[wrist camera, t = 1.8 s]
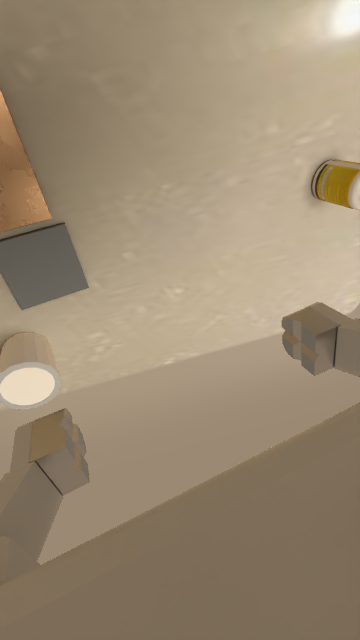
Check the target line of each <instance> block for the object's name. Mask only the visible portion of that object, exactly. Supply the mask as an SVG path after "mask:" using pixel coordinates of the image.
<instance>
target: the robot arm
mask: <svg viewBox="0 0 360 640" xmlns="http://www.w3.org/2000/svg"><path fill="white" fill-rule="evenodd" d="M282 327H283V328H284V329H285V332H284V334H283V336H282V341H283V345H284V348H285V350H286V351H287V353H288V354H289V355H290V356H291V357H292V358H293V359H298V360H301V364H302V366H303V367H304V368H305V369H307V370H308V371H309V372H310V373H311V374H313V375H314V376H316V375H318V374H320V373H322V372H325V371H327V370H329V369H332V368H335V369H338V370H341V371H344V372H347V373H349V374H353V375H355V376H359V377H360V319H355V320H353V319H351V318H348V317H347V316H345V315H343V314H341V313H340V312H338V311H336V310H334V309H332V308H330V307H328V306H327V305H325V304H323V303H320V302H317V303H314V304H312V305H310V306H308V307H306V308H304V309H301V310H299V311H297V312H294V313H292V314H290V315H287V316H285V317H283V319H282ZM85 454H86V446H85V442H84V439H83V435H82V433H81V431H80V429H79V427H78V425H76V424H73V423H72V416H71V414H70V412H69V411H68V409H62V410H59V411H57V412H54V413H52V414H49V415H47V416H44V417H42V418H39V419H37V420H34V421H32V422H30V423H27V424H25V425H22V426H20V427H18V428H17V429H16V431H15V437H14V445H13V452H12V460H11V467H10V472H9V473H7V474H5V475H4V476H3V478H2V479H1V480H0V640H360V403H358V404H356V405H354V406H352V407H350V408H348V409H346V410H344V411H342V412H340V413H338V414H336V415H334V416H333V417H330V418H328V419H326V420H324V421H322V422H320V423H319V424H317V425H315V426H313V427H311V428H309V429H307V430H305V431H303V432H301V433H299V434H297V435H295V436H293V437H291V438H289V439H287V440H285V441H283V442H281V443H279V444H277V445H275V446H274V447H272V448H270V449H268V450H266V451H264V452H262V453H260V454H258V455H256V456H254V457H252V458H250V459H248V460H246V461H244V462H242V463H240V464H238V465H236V466H234V467H232V468H230V469H228V470H226V471H224V472H222V473H221V474H219V475H217V476H215V477H213V478H211V479H209V480H207V481H205V482H203V483H201V484H199V485H197V486H195V487H193V488H191V489H189V490H187V491H185V492H183V493H181V494H179V495H177V496H175V497H174V498H172V499H169V500H168V501H166V502H164V503H162V504H160V505H158V506H156V507H154V508H152V509H150V510H148V511H146V512H144V513H142V514H140V515H138V516H136V517H134V518H132V519H130V520H128V521H126V522H124V523H122V524H120V525H119V526H117V527H115V528H113V529H111V530H109V531H107V532H105V533H103V534H101V535H99V536H97V537H95V538H93V539H91V540H89V541H87V542H85V543H83V544H81V545H79V546H77V547H75V548H74V549H71V550H70V551H68V552H66V553H64V554H62V555H60V556H58V557H56V558H54V559H52V560H50V561H48V562H46V563H44V564H42V565H40V564H39V563H38V562H37V560H38V558H39V555H40V553H41V551H42V548H43V546H44V543H45V541H46V538H47V535H48V533H49V531H50V529H51V526H52V523H53V521H54V519H55V516H56V514H57V511H58V509H59V506H60V504H61V502H62V499H63V495H65V494H67V493H69V492H71V491H73V490H75V489H77V488H79V487H81V486H83V485H85V484H87V483H89V471H88V464H87V462H86V460H85V459H84V455H85Z"/></svg>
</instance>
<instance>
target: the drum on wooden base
mask: <svg viewBox="0 0 360 640" xmlns="http://www.w3.org/2000/svg"><path fill="white" fill-rule="evenodd" d="M48 219H52V217H51V214H50V212H49V209H48V207H47V205H46V202H45V200H44V197H43V195H42V192H41V190H40V187H39V185H38V182H37V180H36V177H35V175H34V172H33V170H32V167H31V165H30V162H29V160H28V157H27V155H26V152H25V150H24V147H23V145H22V142H21V140H20V137H19V135H18V132H17V130H16V127H15V125H14V122H13V120H12V117H11V115H10V112H9V110H8V107H7V105H6V102H5V100H4V97H3V95H2V92H1V90H0V232H3V231H7V230H11V229H14V228H18V227H22V226H26V225H29V224H33V223H37V222H40V221H44V220H48Z"/></svg>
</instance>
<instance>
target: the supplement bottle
mask: <svg viewBox="0 0 360 640" xmlns="http://www.w3.org/2000/svg"><path fill="white" fill-rule="evenodd" d="M312 189H313V193H314V195H315V197H316V198H318V199H320V200H323V201H327V202H330V203H334V204H338V205H341V206H345V207H349V208H352V209H357V210H360V163H355V162H348V161H341V160H329V161H327V162H325V163H324V164H323V165H322V166H321V167H320V168H319V169H318V171H317V172H316V174H315V176H314V179H313V184H312Z"/></svg>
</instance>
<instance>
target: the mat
mask: <svg viewBox="0 0 360 640" xmlns="http://www.w3.org/2000/svg"><path fill="white" fill-rule="evenodd" d="M0 272H1V274H2V276H3V277H4V279H5V281H6V283H7V285H8V286H9V288H10V290H11V292H12V293H13V295H14V297H15V299H16V300H17V302H18V304H19V306H20V308H21V309H22V310H23V309H26V308H29V307H32V306H35V305H38V304H41V303H44V302H47V301H50V300H53V299H56V298H59V297H62V296H65V295H68V294H71V293H74V292H77V291H80V290H83V289H86V288H89V287H88V284H87V281H86V279H85V276H84V274H83V271H82V268H81V266H80V263H79V260H78V258H77V255H76V253H75V250H74V247H73V245H72V242H71V239H70V237H69V234H68V232H67V229H66V226H65V224H64V223H61V224H57V225H54V226H50V227H46V228H43V229H39V230H36V231H32V232H28V233H25V234H21V235H17V236H14V237H10V238H7V239H3V240H0Z"/></svg>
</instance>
